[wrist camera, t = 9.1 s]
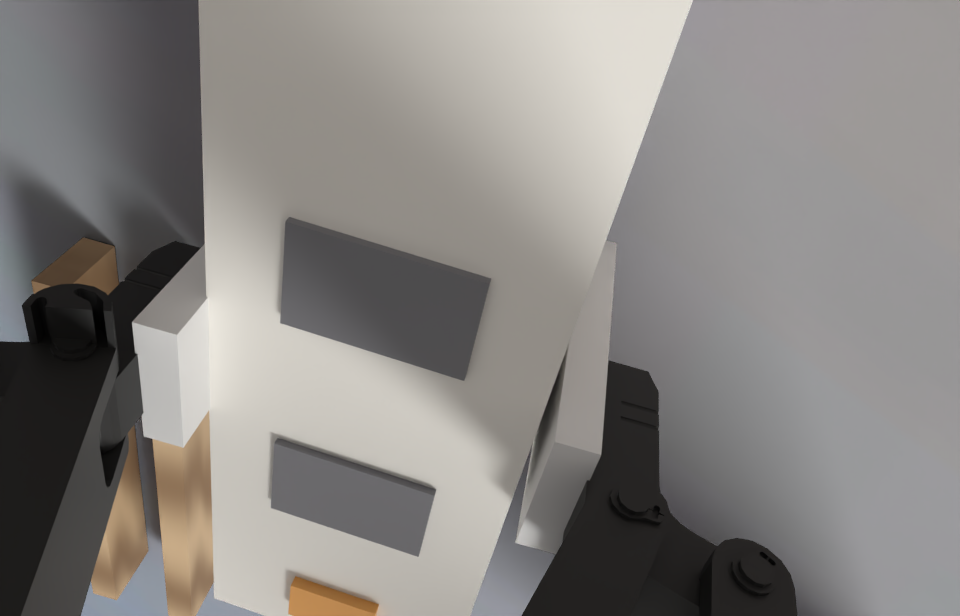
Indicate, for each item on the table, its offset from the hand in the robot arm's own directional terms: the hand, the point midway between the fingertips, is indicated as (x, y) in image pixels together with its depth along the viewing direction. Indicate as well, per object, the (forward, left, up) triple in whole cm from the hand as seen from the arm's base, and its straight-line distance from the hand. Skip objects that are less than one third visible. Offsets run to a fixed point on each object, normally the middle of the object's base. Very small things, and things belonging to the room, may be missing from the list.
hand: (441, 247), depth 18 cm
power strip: (0, 0, -2) cm, 2 cm away
